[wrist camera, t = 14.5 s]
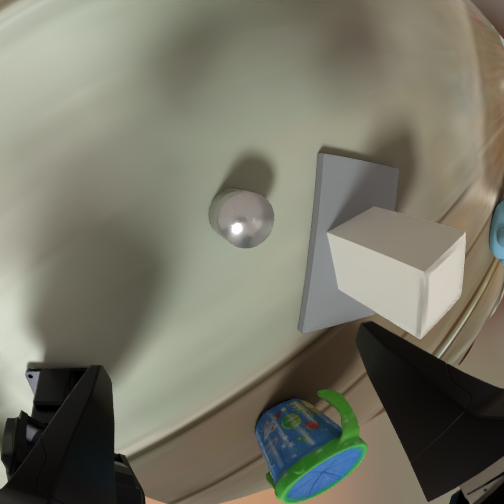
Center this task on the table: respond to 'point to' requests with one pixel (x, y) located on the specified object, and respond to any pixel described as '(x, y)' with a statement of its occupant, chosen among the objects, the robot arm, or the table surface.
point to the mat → (330, 216)
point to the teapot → (498, 232)
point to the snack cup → (308, 446)
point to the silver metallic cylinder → (241, 217)
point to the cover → (399, 266)
